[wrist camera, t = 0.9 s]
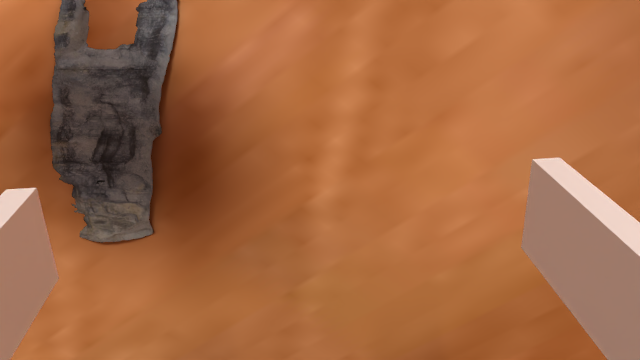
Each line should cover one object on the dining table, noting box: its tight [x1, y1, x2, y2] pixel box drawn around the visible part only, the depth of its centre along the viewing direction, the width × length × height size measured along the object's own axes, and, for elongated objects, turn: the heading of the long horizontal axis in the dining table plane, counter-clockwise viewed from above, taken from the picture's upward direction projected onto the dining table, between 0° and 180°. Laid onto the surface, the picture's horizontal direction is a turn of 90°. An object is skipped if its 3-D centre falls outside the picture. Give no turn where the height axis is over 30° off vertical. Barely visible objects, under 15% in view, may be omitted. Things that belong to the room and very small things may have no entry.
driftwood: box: [50, 0, 178, 243], centre depth 33 cm, size 21×7×2 cm, turn 167°
